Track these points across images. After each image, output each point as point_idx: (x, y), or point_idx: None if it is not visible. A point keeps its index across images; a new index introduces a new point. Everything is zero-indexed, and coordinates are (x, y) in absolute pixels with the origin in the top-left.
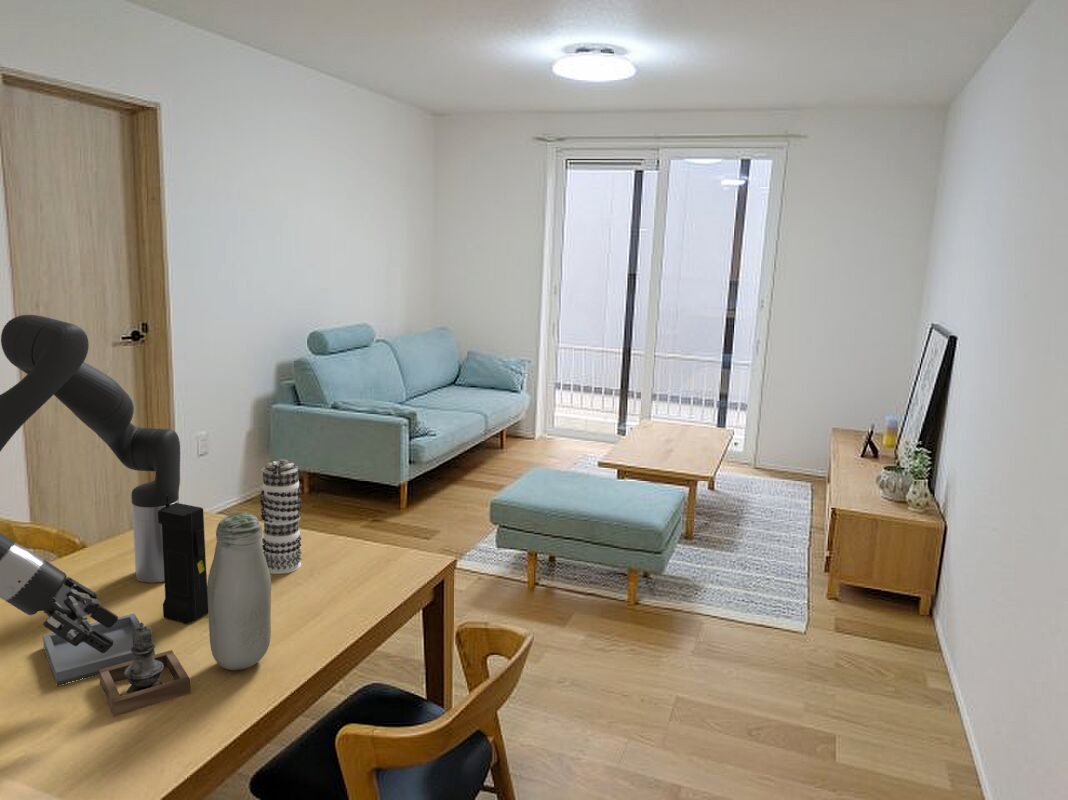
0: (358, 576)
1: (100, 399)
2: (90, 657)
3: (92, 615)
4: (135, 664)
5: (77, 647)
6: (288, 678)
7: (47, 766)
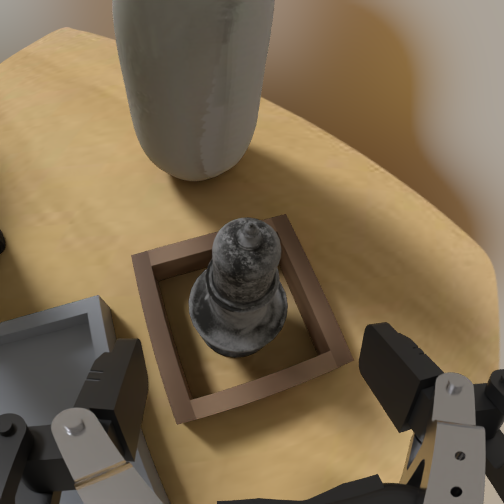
0: (34, 70)
1: None
2: None
3: (132, 450)
4: (260, 313)
5: None
6: (265, 113)
7: None
